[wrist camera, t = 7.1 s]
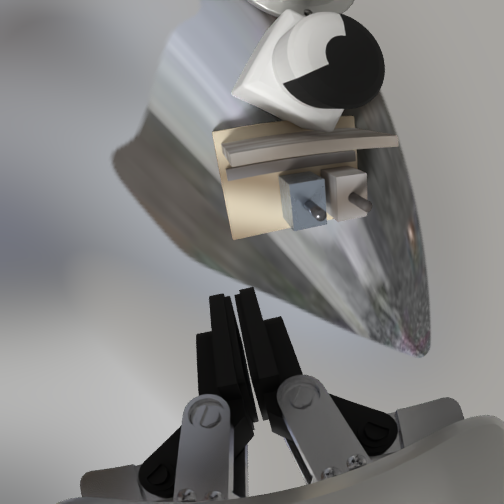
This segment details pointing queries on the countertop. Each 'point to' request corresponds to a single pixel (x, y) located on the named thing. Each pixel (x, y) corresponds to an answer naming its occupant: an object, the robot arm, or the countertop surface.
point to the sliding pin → (303, 200)
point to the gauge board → (291, 170)
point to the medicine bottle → (312, 69)
